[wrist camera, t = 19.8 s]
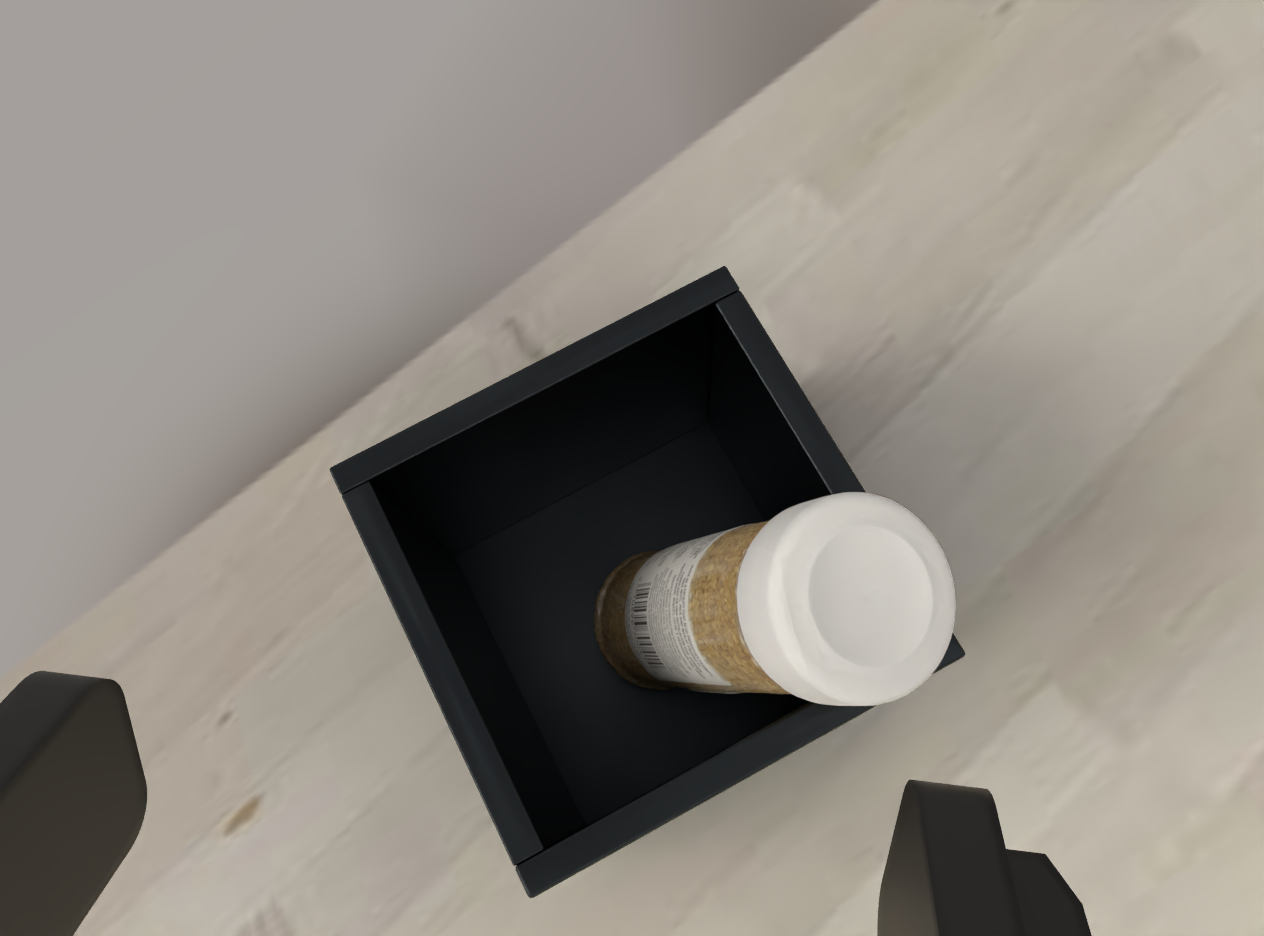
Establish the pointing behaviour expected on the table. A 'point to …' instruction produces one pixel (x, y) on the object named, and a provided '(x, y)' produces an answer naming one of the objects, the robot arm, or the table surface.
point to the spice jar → (787, 606)
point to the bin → (592, 566)
